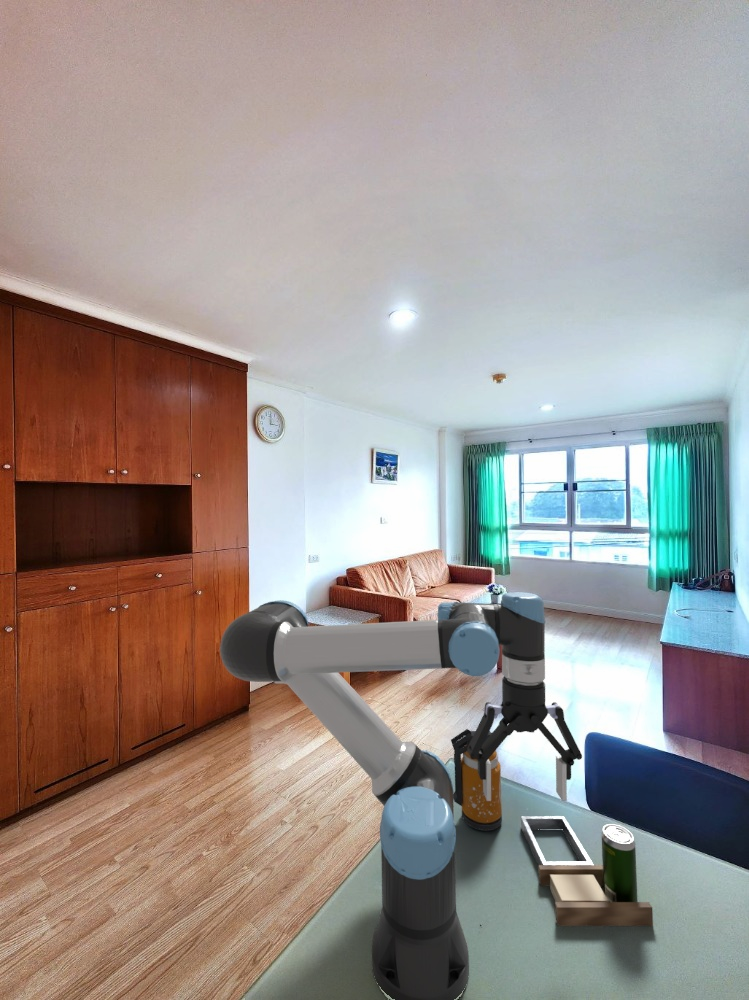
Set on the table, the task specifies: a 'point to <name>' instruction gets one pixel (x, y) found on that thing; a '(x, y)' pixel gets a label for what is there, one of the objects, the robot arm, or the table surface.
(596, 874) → the beam
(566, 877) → the block
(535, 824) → the frame
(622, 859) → the beer can
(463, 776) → the canister
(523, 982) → the table surface
